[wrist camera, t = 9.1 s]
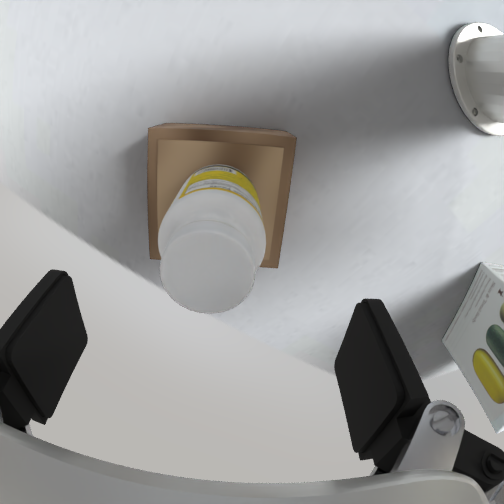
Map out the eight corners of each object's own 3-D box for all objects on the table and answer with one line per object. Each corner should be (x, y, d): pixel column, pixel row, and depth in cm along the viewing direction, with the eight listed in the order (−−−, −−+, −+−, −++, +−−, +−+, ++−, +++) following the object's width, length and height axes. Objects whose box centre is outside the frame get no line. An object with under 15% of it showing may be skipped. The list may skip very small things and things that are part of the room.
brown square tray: (286, 131, 24) (297, 138, 19) (271, 240, 29) (278, 269, 24) (165, 123, 23) (147, 128, 19) (163, 233, 28) (149, 260, 23)
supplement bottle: (219, 250, 23) (207, 344, 14) (165, 200, 21) (116, 272, 12) (274, 202, 21) (298, 278, 13) (220, 146, 19) (202, 183, 11)
